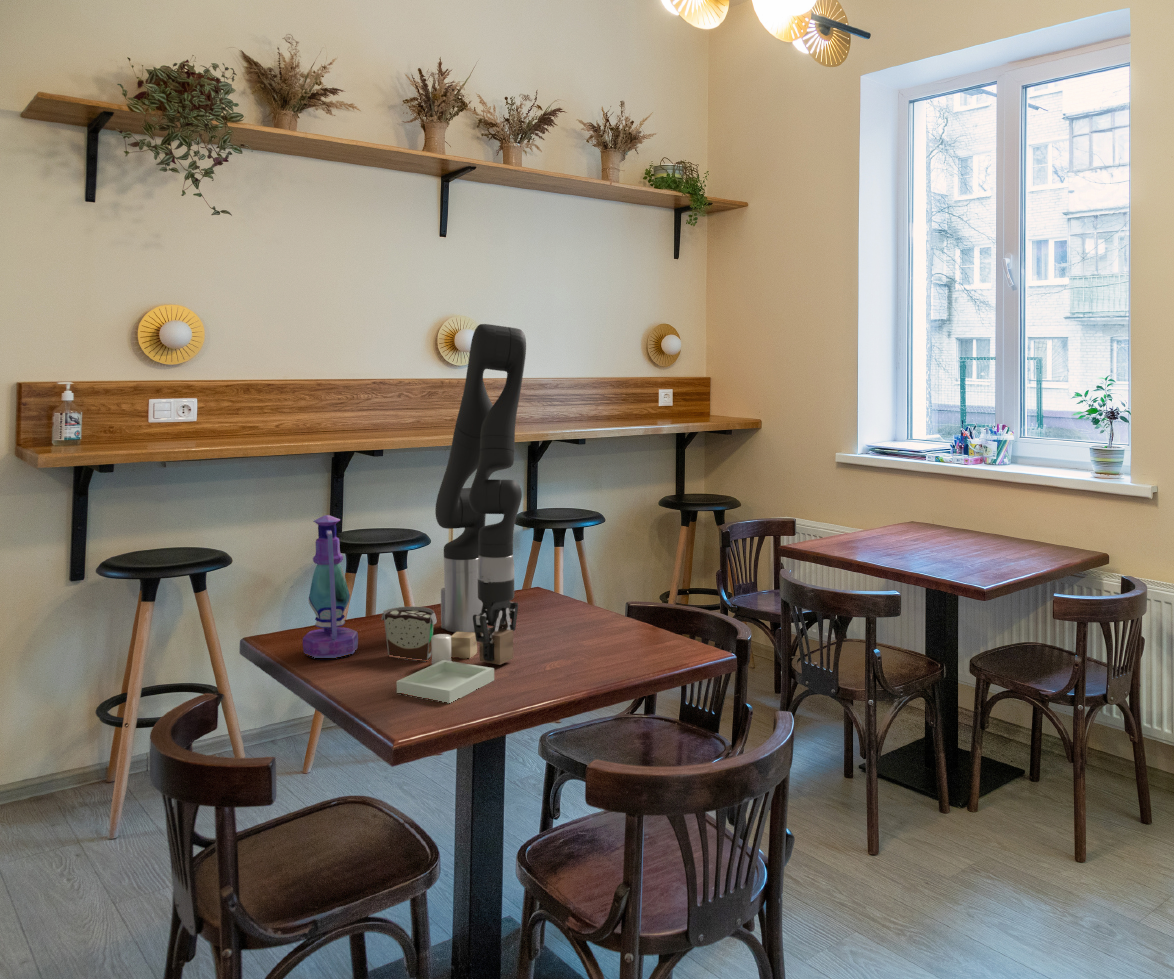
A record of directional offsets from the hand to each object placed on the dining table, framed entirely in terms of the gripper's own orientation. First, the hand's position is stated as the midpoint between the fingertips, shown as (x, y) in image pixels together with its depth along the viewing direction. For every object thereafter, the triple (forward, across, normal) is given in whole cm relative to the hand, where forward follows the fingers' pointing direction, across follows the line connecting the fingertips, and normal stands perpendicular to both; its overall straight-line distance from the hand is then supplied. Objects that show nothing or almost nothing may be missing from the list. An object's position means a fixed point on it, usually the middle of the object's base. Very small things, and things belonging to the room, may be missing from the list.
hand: (496, 656), depth 196 cm
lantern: (+2, +10, -35) cm, 37 cm away
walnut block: (+1, 0, 0) cm, 1 cm away
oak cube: (+2, -2, -10) cm, 10 cm away
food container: (+2, +3, -18) cm, 19 cm away
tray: (+1, +17, 0) cm, 17 cm away
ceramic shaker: (+2, +6, -10) cm, 11 cm away
